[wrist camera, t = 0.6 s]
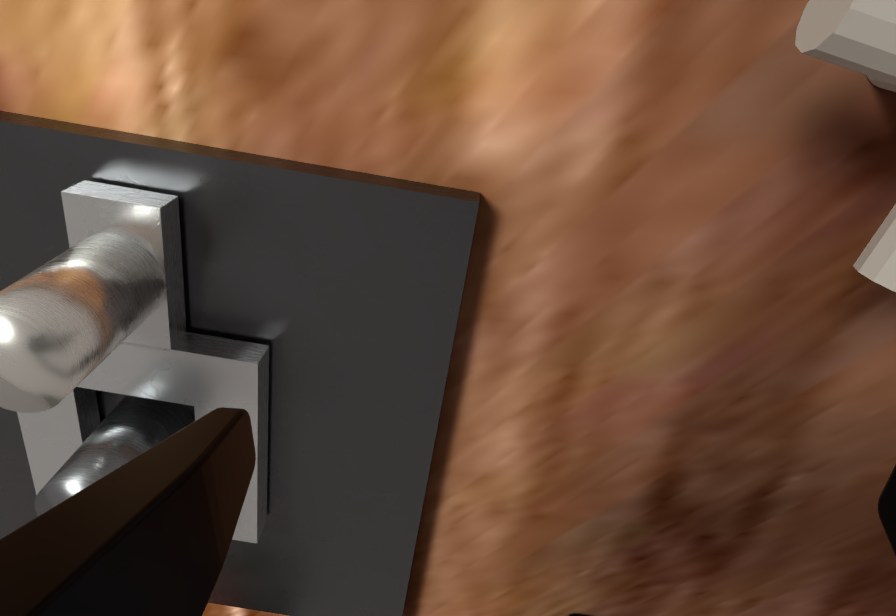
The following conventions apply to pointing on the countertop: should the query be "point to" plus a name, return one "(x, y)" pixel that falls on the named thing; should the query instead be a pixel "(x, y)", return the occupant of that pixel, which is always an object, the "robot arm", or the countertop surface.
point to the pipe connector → (886, 65)
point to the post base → (273, 345)
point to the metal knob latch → (120, 336)
